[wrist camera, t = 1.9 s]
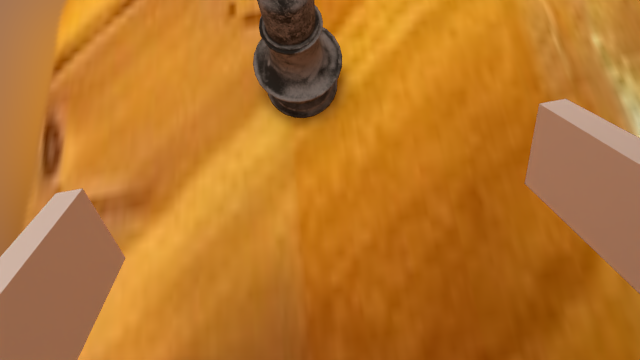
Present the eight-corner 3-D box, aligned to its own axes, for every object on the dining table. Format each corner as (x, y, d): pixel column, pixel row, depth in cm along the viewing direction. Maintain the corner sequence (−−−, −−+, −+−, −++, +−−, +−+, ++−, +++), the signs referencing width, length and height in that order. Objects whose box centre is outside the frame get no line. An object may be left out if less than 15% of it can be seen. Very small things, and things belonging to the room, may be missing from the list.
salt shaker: (347, 55, 28) (356, -88, 16) (333, 127, 27) (333, 29, 15) (272, 43, 29) (229, -104, 17) (255, 114, 28) (197, 9, 16)
